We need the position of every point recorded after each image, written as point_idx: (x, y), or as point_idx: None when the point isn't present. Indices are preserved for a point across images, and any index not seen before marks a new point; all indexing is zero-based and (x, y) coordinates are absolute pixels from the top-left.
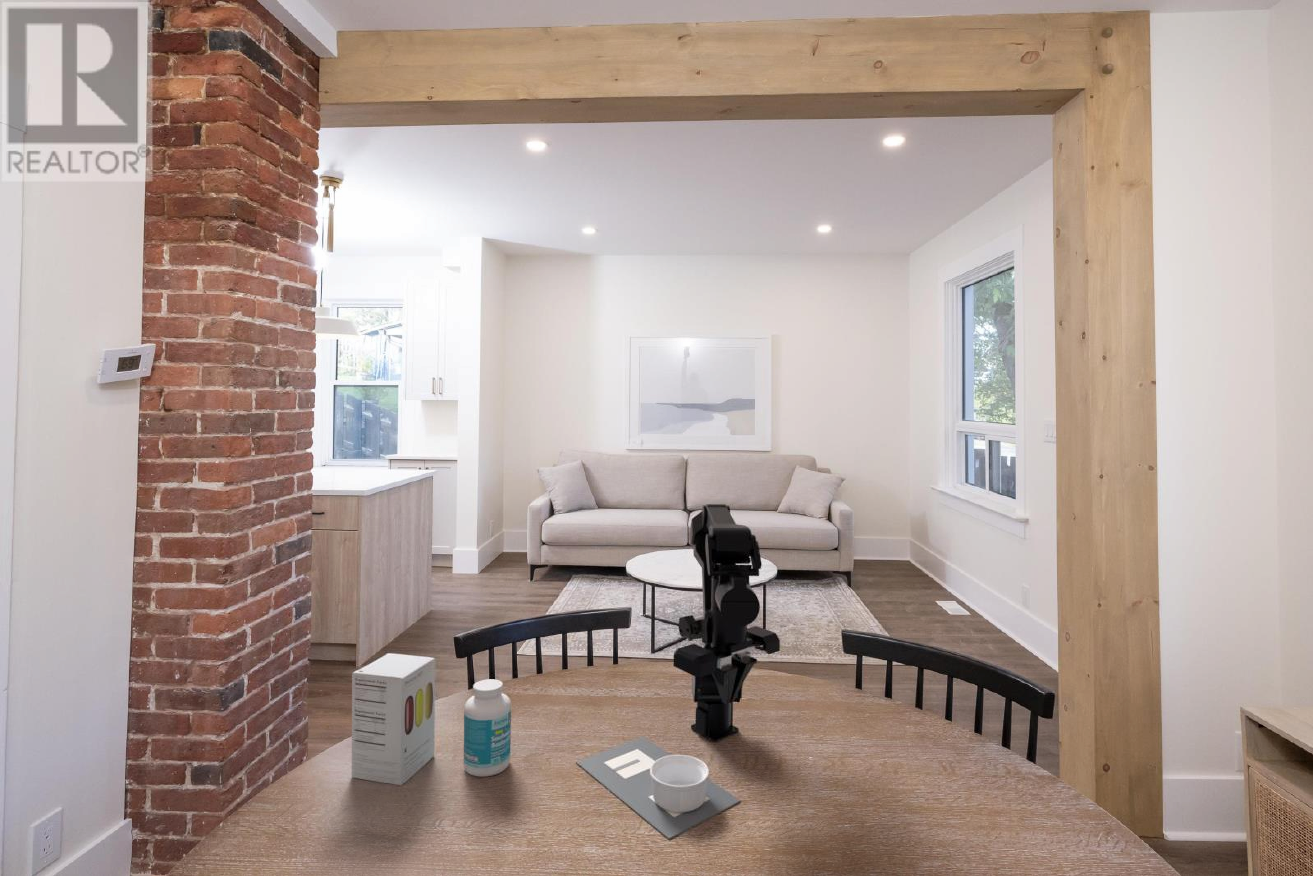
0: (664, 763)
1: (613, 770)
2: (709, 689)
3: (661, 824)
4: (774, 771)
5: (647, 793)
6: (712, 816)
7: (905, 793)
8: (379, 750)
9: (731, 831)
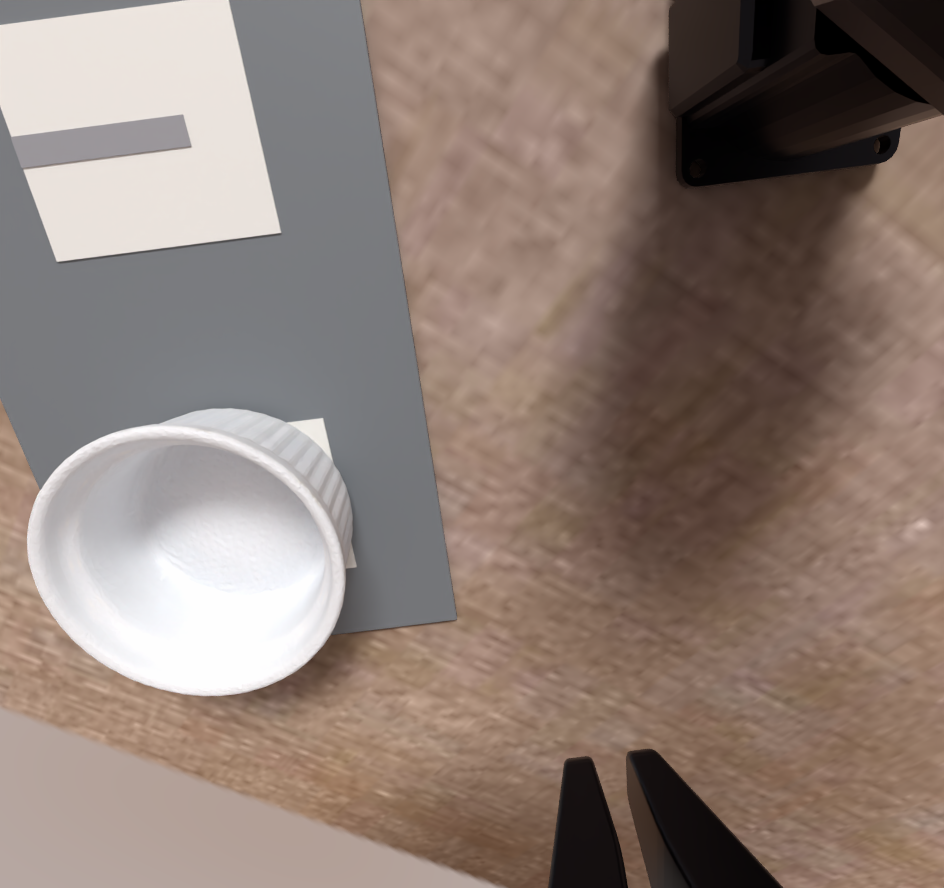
0: (167, 444)
1: (14, 148)
2: (899, 61)
3: None
4: (713, 532)
5: (129, 418)
6: None
7: (933, 795)
8: None
9: (333, 707)
